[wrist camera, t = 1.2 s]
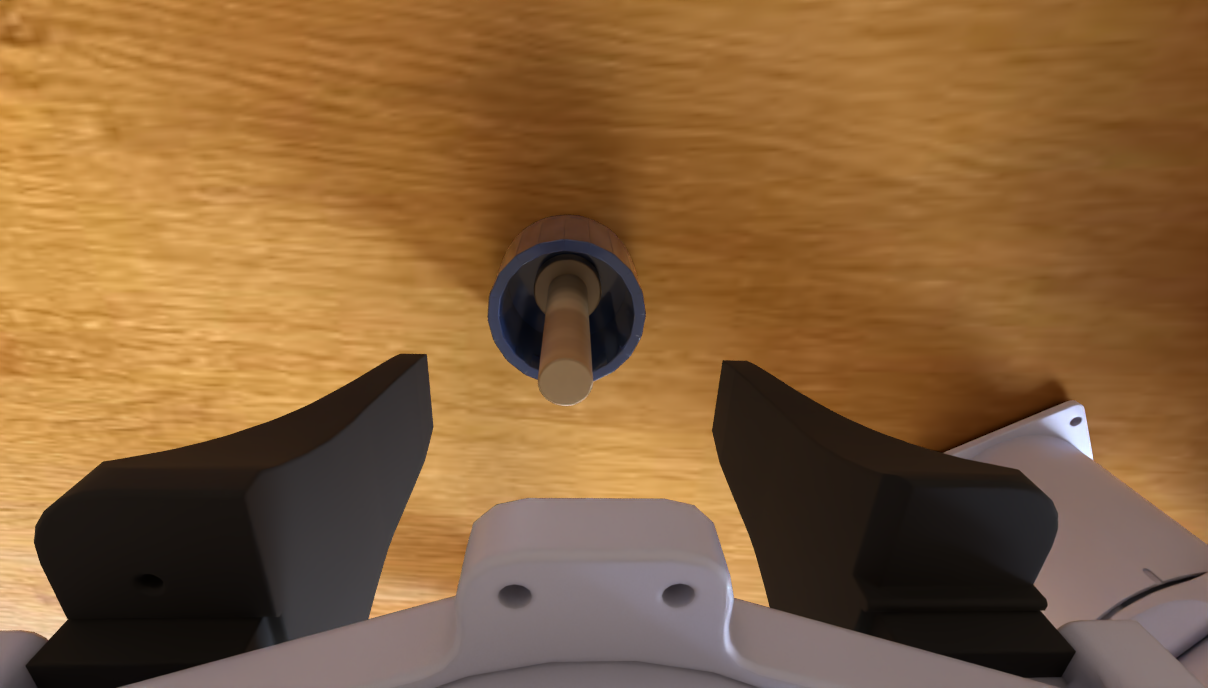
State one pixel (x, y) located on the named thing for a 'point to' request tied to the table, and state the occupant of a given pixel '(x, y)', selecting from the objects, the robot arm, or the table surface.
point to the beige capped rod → (566, 327)
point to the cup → (523, 321)
